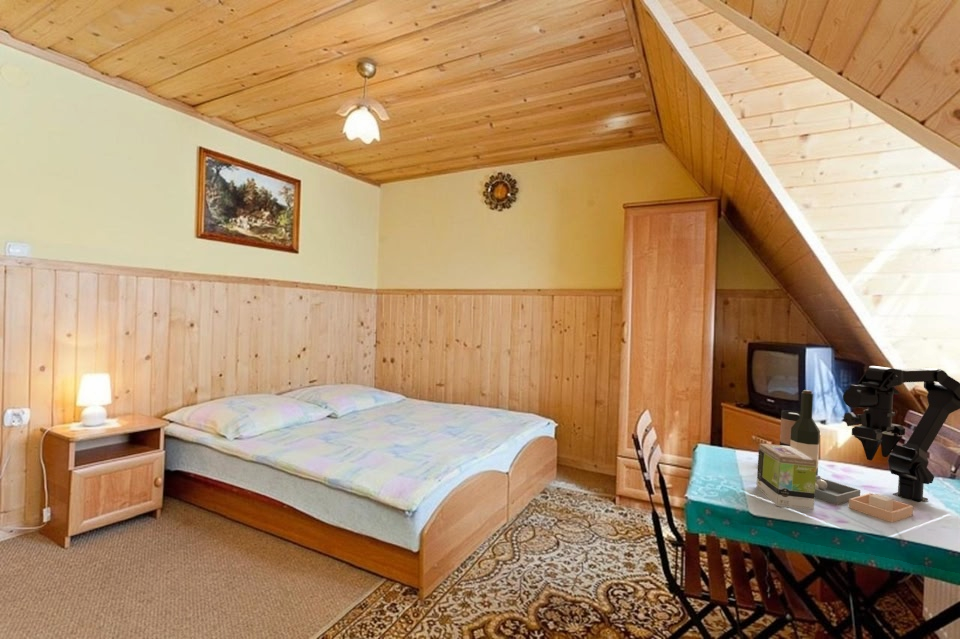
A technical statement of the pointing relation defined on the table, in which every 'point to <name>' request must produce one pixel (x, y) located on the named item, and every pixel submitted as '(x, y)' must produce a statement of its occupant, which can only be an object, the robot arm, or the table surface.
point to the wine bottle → (806, 429)
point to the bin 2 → (898, 509)
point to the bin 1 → (836, 492)
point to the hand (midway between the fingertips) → (877, 458)
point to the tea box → (786, 476)
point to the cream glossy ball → (821, 484)
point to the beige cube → (881, 502)
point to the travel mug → (787, 426)
